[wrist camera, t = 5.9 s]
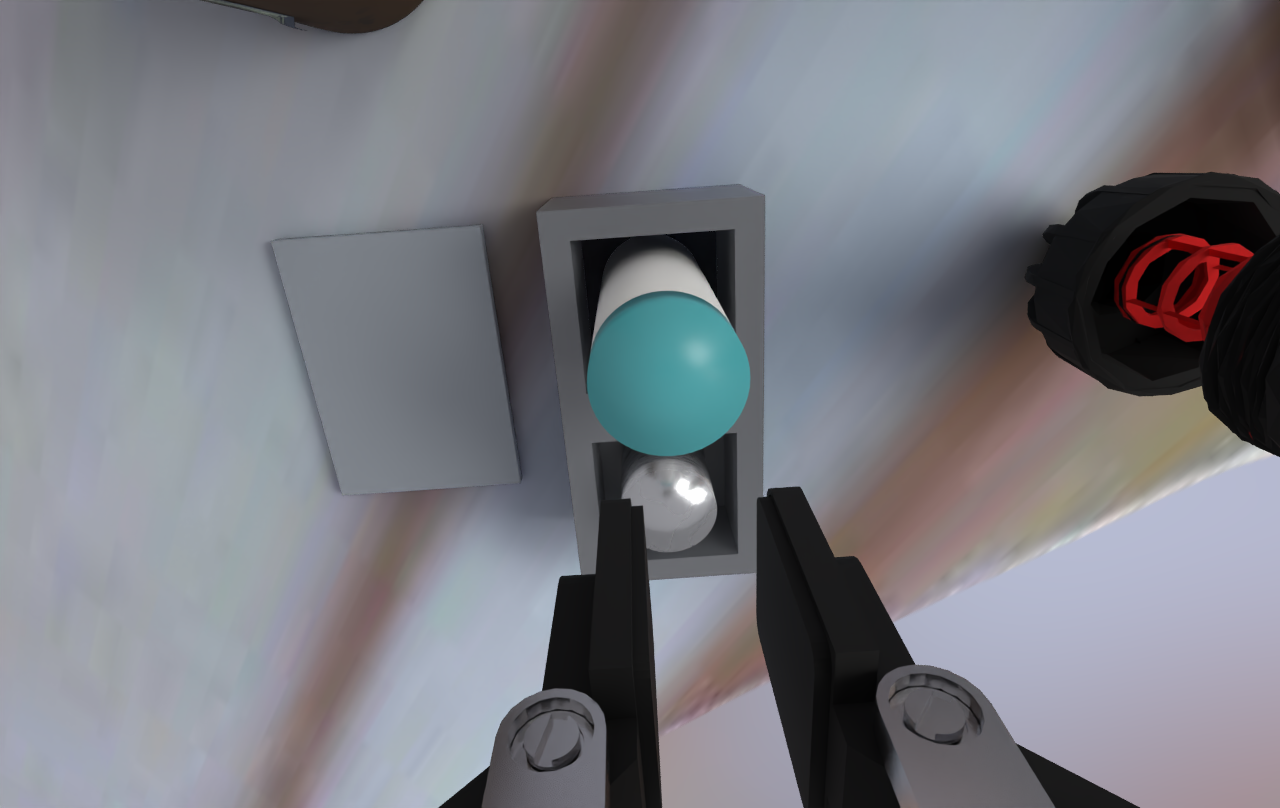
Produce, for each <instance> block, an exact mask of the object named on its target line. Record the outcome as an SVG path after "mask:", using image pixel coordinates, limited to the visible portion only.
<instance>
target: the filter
mask: <svg viewBox="0 0 1280 808" xmlns="http://www.w3.org/2000/svg"><path fill="white" fill-rule="evenodd" d="M1042 235H1043V238H1044V239H1045V240H1046V241H1047V242H1048V243H1049V244H1050V247H1049V250H1048V252H1047V254H1046V256H1045V258H1044V260H1043V263H1040V264H1035V265H1032V266H1029V267H1028V269H1027V272H1026V275H1025V279H1026V281H1027V282H1028V283H1030V284H1032V285H1034V286H1036V289H1035V294H1034V296H1033V297H1032V298H1031V299H1030V301H1029V302H1028V313H1027V315H1028V318H1029V320H1030V322H1031V325H1032V326H1033V327H1035V328H1036V329H1037V330H1039V331H1041V332H1042V334H1043V336H1044V338H1045V339H1046V343H1047V345H1048V346H1049V348H1050V349H1051V350H1052V351H1053V352H1054V353H1055V355H1057V356H1058V357H1059V358H1061V359H1062V360H1064V361H1066V362H1068V363H1069V364H1071V365H1073V366H1074V367H1076V368H1078V369H1079V370H1081V371H1083V372H1084V373H1086V374H1088V375H1089V376H1091V377H1093V378H1095V379H1096V380H1098V381H1099V382H1101V383H1102V384H1103V385H1104V386H1106V387H1107V388H1108V389H1112V390H1117V391H1121V392H1125V393H1129V394H1133V395H1137V396H1156V395H1172V394H1175V393H1179V392H1182V391H1186V390H1189V389H1193V388H1196V387H1200V386H1202V389H1203V395H1204V399H1205V400H1206V402H1207V403H1208V409H1209V411H1210V412H1212V413H1213V414H1214V415H1215V416H1216V417H1217V418H1218V419H1219V420H1220V421H1222V422H1223V423H1224V424H1225V425H1226V426H1227V427H1228V428H1229V429H1230V430H1231V431H1232V432H1233V433H1235V434H1236V435H1237V436H1238V437H1239V438H1240V439H1241V440H1243V441H1246V442H1249V443H1251V444H1252V445H1255V446H1256V447H1258V448H1260V449H1263V450H1265V451H1267V452H1269V453H1272V454H1273V455H1276V456H1279V457H1280V194H1279V193H1278V192H1277V191H1275V190H1273V189H1272V188H1271V187H1269V186H1268V185H1266V184H1265V183H1264V182H1262V181H1261V180H1260V179H1258V178H1251V177H1244V176H1238V175H1235V174H1223V173H1215V172H1208V173H1152V174H1149V175H1147V176H1143V177H1138V178H1133V179H1131V180H1128V181H1126V182H1123V183H1121V184H1119V185H1116V186H1106V185H1104V186H1102V187H1100V188H1098V189H1096V190H1093V191H1091V192H1089V193H1087V194H1086V195H1085V196H1084V197H1083V198H1082V199H1080V200H1079V202H1078V205H1077V208H1076V210H1075V214H1074V216H1073V217H1072V218H1071V219H1070V220H1069V221H1068V222H1067V224H1066V225H1065V226H1064V225H1059V224H1055V225H1049V227H1048V228H1047V229H1046V230H1045V232H1044V233H1043V234H1042Z"/></svg>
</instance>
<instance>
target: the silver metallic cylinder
mask: <svg viewBox="0 0 1280 808" xmlns="http://www.w3.org/2000/svg"><path fill="white" fill-rule="evenodd" d="M626 498H631V504H632V506H641V505H643V511H644V523H645V536H646V548H648V549H651V550H654V551H658V552H677V551H681V550H685V549H688V548H690V547H692V546H694V545H696V544H697V543H699V542H700V541H701V540H703V539H704V538H705V537H706V536H707V535H708V533H709V532H710V531H711V529H712V527H713V525H714V523H715V520H716V516H717V503H716V499H715V495H714V491H713V487H712V483H711V479H710V475H709V471H708V467H707V463H706V459H705V455H704V451H703V449H700V450H697V451H695V452H692V453H688V454H684V455H677V456H656V455H650V454H645V453H642V452H639V451H636V450H633V449H631V448H629V447H627V446H625V448H624V450H623V454H622V476H621V499H626Z"/></svg>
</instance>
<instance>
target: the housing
mask: <svg viewBox="0 0 1280 808" xmlns="http://www.w3.org/2000/svg"><path fill="white" fill-rule="evenodd" d="M536 215H537V223H538V231H539V240H540V248H541V256H542V264H543V272H544V280H545V288H546V296H547V304H548V312H549V320H550V328H551V336H552V344H553V352H554V360H555V368H556V376H557V384H558V392H559V400H560V408H561V416H562V424H563V432H564V440H565V449H566V457H567V465H568V473H569V481H570V489H571V497H572V505H573V513H574V521H575V529H576V537H577V545H578V553H579V561H580V569H581V575H586V574H595V572H596V558H597V544H598V530H599V516H600V503H601V500H612V499H621V476H622V454H623V450H624V448H625V445H623V444H622V443H620V442H619V441H617V440H616V439H615V438H614V437H613V436H611V435H610V434H609V433H608V432H607V431H606V430H605V428H604V427H603V426H602V425H601V423H600V422H599V420H598V419H597V417H596V416H595V413H594V411H593V409H592V407H591V404H590V401H589V397H588V391H587V372H588V365H589V359H590V352H591V346H592V341H591V331H590V321H589V311H588V301H587V291H586V281H585V271H584V261H583V251H582V241H581V240H590V239H604V238H618V237H632V236H646V235H660V234H674V233H688V232H701V231H715V230H716V259H717V300H718V302H719V303H720V305H721V307H722V309H723V311H724V313H725V314H726V316H727V318H728V320H729V322H730V323H731V325H732V327H733V329H734V331H735V333H736V334H737V336H738V338H739V340H740V342H741V343H742V345H743V347H744V349H745V352H746V355H747V358H748V362H749V367H750V389H749V393H748V398H747V401H746V404H745V406H744V408H743V410H742V412H741V414H740V416H739V418H738V419H737V420H736V422H735V423H734V425H733V426H732V427H731V428H730V429H729V430H728V431H727V432H726V433H725V434H724V435H723V436H722V437H721V438H719V439H718V440H716V441H715V442H713V443H712V444H710V445H708V446H706V447H704V448H703V451H704V455H705V459H706V463H707V467H708V471H709V475H710V479H711V483H712V487H713V491H714V495H715V499H716V503H717V516H716V520H715V523H714V525H713V527H712V529H711V531H710V532H709V533H708V535H707V536H706V537H705V538H704V539H703V540H701V541H700V542H699V543H697V544H696V545H694V546H692V547H690V548H688V549H685V550H681V551H677V552H658V551H654V550H651V549H648V548H646V549H647V562H648V574H649V580H659V579H673V578H688V577H702V576H717V575H732V574H746V573H757V498H758V497H763V418H764V276H765V195H763V194H761V193H758V192H756V191H754V190H752V189H750V188H747V187H745V186H743V185H741V184H736V185H722V186H709V187H695V188H681V189H667V190H653V191H639V192H625V193H612V194H598V195H584V196H570V197H556V198H551V199H550V200H549V201H548V202H547V203H546V204H544V205H543V206H542V207H541V208H540V209H539V210H538V211H537V212H536Z"/></svg>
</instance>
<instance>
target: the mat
mask: <svg viewBox="0 0 1280 808" xmlns="http://www.w3.org/2000/svg"><path fill="white" fill-rule="evenodd" d="M271 244H272V248H273V251H274V255H275V258H276V262H277V265H278V269H279V273H280V276H281V280H282V283H283V287H284V290H285V294H286V297H287V301H288V304H289V308H290V312H291V315H292V319H293V322H294V326H295V329H296V333H297V336H298V340H299V344H300V347H301V351H302V354H303V358H304V361H305V365H306V368H307V372H308V376H309V379H310V383H311V386H312V390H313V393H314V397H315V400H316V404H317V407H318V411H319V415H320V418H321V422H322V425H323V429H324V432H325V436H326V439H327V443H328V447H329V450H330V454H331V457H332V461H333V464H334V468H335V471H336V475H337V479H338V482H339V486H340V489H341V493H342V496H344V495H358V494H373V493H387V492H402V491H416V490H430V489H445V488H459V487H474V486H488V485H503V484H517V483H521V480H522V475H521V469H520V462H519V456H518V449H517V443H516V437H515V430H514V424H513V418H512V411H511V405H510V398H509V392H508V386H507V379H506V373H505V366H504V360H503V354H502V347H501V341H500V334H499V328H498V322H497V315H496V309H495V302H494V296H493V290H492V283H491V277H490V270H489V264H488V258H487V251H486V245H485V239H484V232H483V226H482V225H469V226H455V227H441V228H427V229H414V230H400V231H386V232H372V233H358V234H344V235H330V236H316V237H302V238H288V239H276V240H273V241H271Z"/></svg>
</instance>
